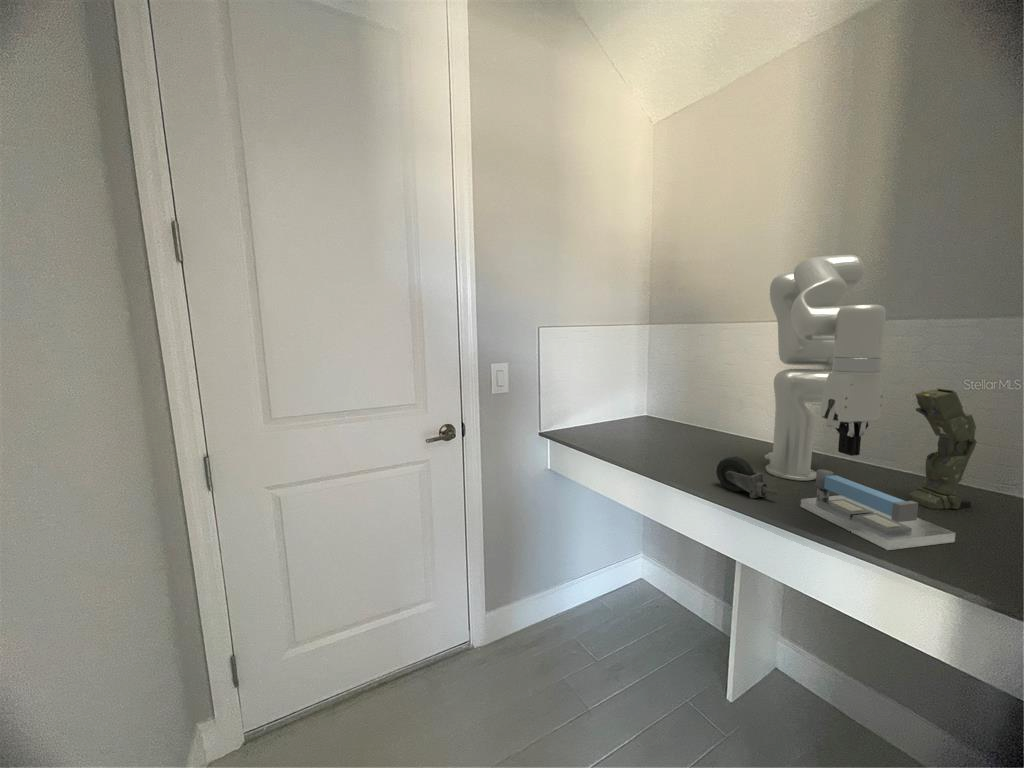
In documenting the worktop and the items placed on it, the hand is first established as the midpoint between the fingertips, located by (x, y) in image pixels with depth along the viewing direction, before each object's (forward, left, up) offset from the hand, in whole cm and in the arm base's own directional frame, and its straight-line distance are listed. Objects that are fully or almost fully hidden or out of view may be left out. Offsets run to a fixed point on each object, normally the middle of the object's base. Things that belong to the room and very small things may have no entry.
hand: (848, 453), depth 84 cm
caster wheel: (-22, -5, -18) cm, 29 cm away
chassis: (-2, +10, -18) cm, 20 cm away
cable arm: (-3, +7, -12) cm, 15 cm away
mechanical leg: (-7, +35, -18) cm, 40 cm away
